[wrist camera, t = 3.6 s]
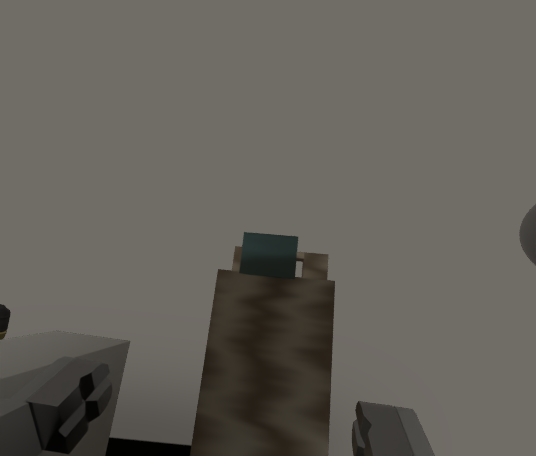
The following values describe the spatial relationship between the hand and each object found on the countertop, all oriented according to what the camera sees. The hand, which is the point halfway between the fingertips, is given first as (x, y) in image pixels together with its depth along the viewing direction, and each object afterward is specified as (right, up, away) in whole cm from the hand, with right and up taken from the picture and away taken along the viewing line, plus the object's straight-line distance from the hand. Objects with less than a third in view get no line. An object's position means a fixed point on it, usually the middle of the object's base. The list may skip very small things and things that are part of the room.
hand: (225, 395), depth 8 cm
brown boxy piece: (0, -25, +16) cm, 29 cm away
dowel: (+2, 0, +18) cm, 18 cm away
